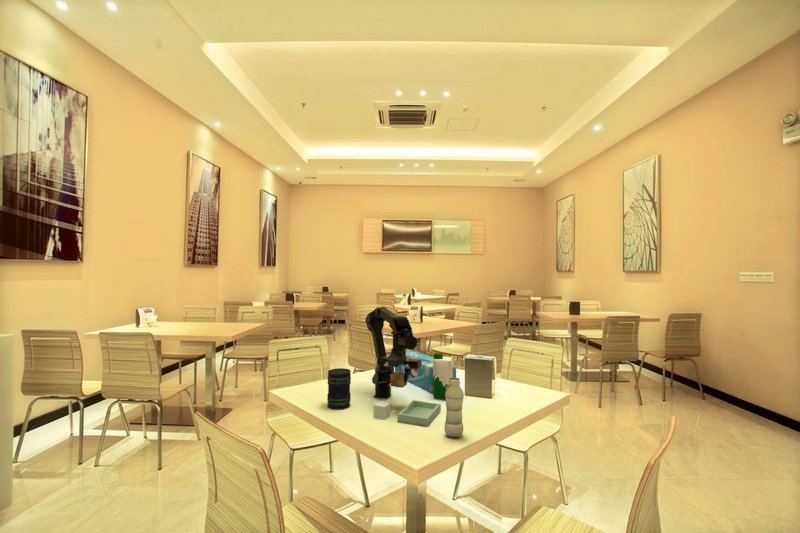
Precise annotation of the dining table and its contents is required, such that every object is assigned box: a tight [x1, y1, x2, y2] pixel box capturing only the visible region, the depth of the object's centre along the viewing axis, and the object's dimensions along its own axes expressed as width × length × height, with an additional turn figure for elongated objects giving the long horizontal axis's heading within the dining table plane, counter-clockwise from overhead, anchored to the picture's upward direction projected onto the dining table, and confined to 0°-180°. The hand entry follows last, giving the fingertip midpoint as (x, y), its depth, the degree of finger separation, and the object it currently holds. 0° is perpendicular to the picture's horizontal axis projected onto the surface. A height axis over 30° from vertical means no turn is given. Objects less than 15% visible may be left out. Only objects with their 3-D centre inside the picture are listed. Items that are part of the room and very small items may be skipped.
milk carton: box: [433, 352, 454, 401], centre depth 181 cm, size 9×9×20 cm
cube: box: [373, 401, 391, 420], centre depth 156 cm, size 5×5×5 cm
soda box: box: [394, 350, 457, 396], centre depth 206 cm, size 40×14×13 cm, turn 28°
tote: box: [397, 399, 442, 428], centre depth 157 cm, size 12×18×3 cm, turn 158°
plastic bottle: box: [443, 377, 465, 438], centre depth 138 cm, size 6×7×20 cm
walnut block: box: [390, 370, 408, 389], centre depth 168 cm, size 6×6×5 cm
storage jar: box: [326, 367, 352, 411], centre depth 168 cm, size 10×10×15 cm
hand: (398, 382), depth 168 cm, fingers closed on walnut block, 5 cm apart
